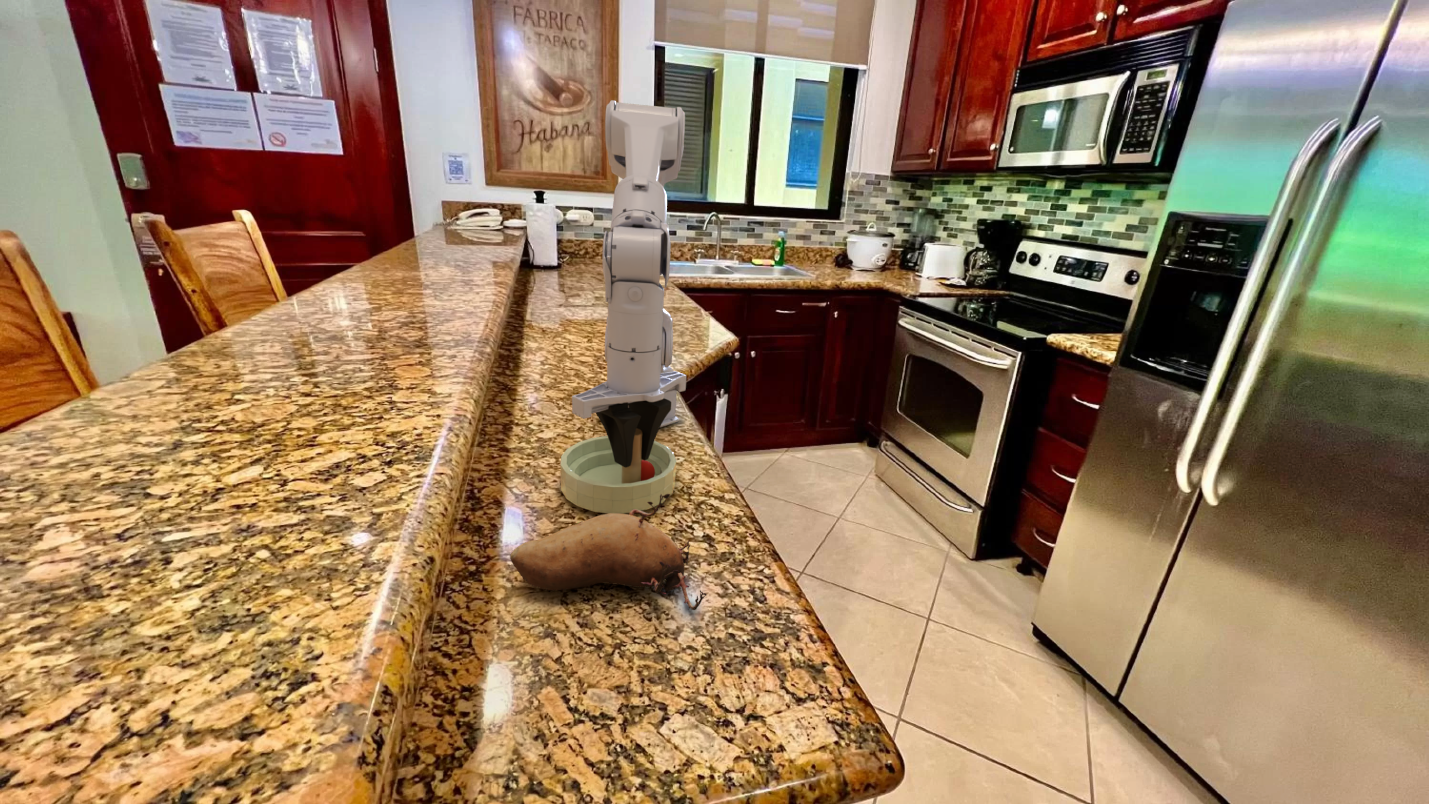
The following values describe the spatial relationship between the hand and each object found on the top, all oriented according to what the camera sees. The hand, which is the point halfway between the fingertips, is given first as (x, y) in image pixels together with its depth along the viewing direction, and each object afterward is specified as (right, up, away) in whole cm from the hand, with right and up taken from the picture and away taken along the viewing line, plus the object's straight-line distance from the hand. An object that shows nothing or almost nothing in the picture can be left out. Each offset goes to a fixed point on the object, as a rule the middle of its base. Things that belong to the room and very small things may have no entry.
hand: (631, 460), depth 63 cm
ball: (+1, -2, +3) cm, 4 cm away
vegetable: (0, -11, -14) cm, 18 cm away
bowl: (-2, -4, +4) cm, 6 cm away
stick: (0, -3, +1) cm, 3 cm away
